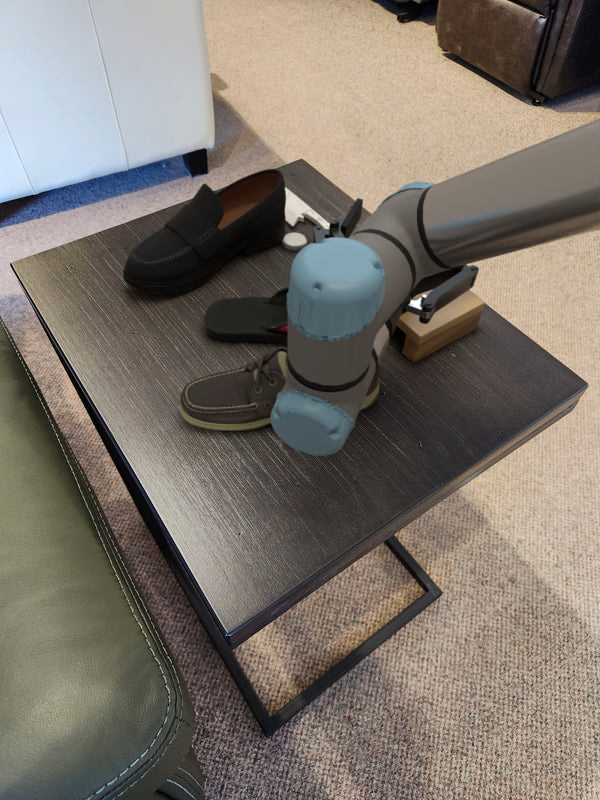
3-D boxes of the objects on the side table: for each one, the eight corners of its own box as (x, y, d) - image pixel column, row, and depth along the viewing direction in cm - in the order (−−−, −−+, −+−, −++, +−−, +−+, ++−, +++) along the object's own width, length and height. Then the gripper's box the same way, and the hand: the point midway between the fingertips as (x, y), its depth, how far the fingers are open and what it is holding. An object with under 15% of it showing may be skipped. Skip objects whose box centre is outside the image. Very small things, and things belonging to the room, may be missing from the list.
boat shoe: (177, 388, 76) (168, 344, 70) (363, 358, 80) (370, 314, 74) (185, 446, 70) (176, 404, 64) (385, 411, 75) (395, 368, 68)
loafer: (112, 276, 89) (93, 203, 80) (266, 218, 101) (265, 148, 91) (142, 311, 84) (126, 238, 75) (300, 246, 96) (303, 176, 86)
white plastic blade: (310, 242, 96) (310, 237, 95) (260, 198, 103) (259, 192, 102) (335, 232, 98) (335, 226, 97) (284, 189, 105) (284, 183, 104)
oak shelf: (476, 328, 85) (485, 302, 81) (413, 363, 80) (420, 337, 76) (377, 248, 95) (381, 221, 92) (317, 275, 91) (318, 248, 87)
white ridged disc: (277, 239, 96) (277, 236, 96) (298, 232, 97) (299, 229, 97) (290, 253, 94) (290, 249, 93) (311, 245, 95) (312, 242, 95)
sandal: (388, 349, 81) (394, 319, 77) (203, 352, 80) (199, 322, 76) (379, 303, 87) (384, 272, 83) (207, 305, 86) (203, 274, 82)
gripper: (251, 320, 69) (317, 222, 81) (463, 386, 63) (498, 269, 76) (249, 269, 63) (320, 171, 75) (482, 336, 58) (517, 219, 70)
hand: (409, 220), depth 76 cm, fingers open, 13 cm apart
